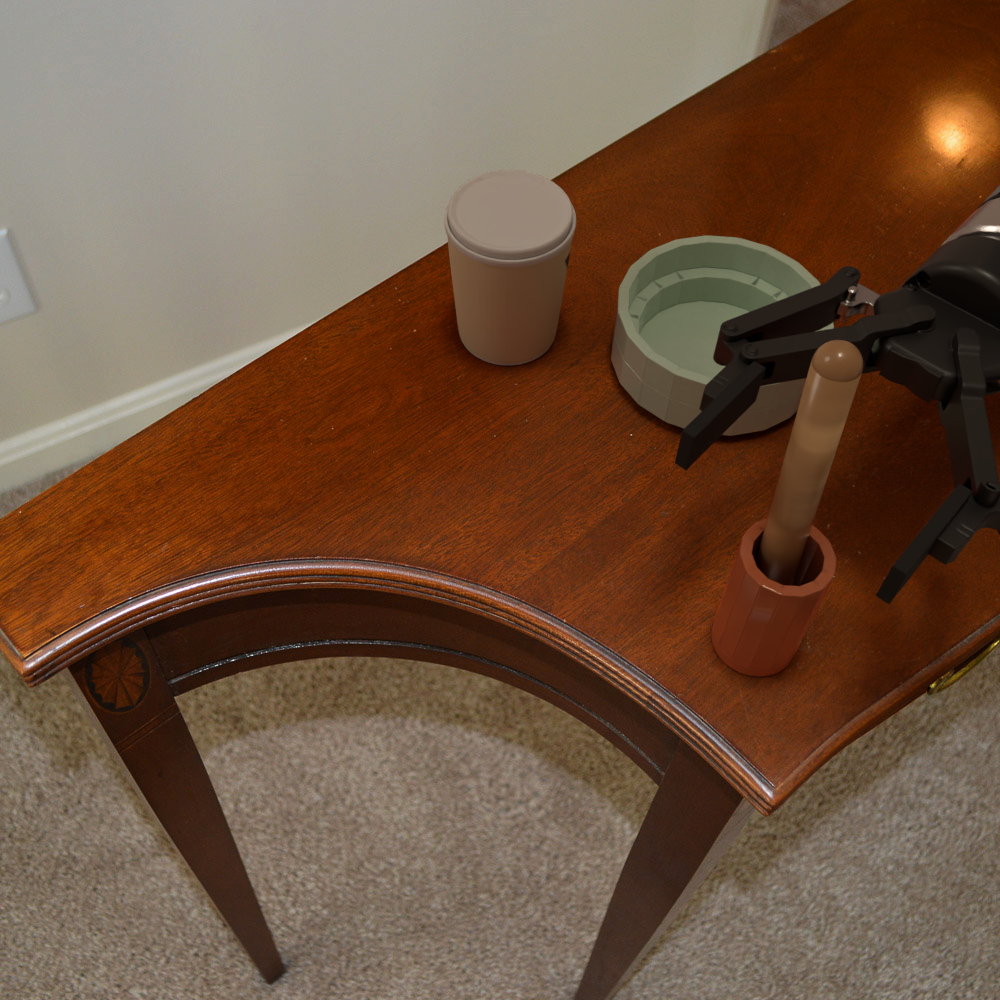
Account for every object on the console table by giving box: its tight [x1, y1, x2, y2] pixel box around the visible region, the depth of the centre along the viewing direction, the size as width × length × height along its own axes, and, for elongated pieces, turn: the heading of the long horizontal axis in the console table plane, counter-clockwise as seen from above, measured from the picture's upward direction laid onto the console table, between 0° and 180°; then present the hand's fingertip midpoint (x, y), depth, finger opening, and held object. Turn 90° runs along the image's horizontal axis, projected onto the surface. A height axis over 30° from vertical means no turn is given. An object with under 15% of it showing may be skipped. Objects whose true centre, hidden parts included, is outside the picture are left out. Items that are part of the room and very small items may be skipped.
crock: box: [710, 517, 837, 678], centre depth 66 cm, size 5×6×10 cm
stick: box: [755, 340, 863, 586], centre depth 60 cm, size 2×2×24 cm
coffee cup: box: [443, 169, 577, 367], centre depth 81 cm, size 9×9×12 cm
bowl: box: [610, 234, 835, 437], centre depth 82 cm, size 16×16×6 cm
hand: (782, 515), depth 54 cm, fingers open, 11 cm apart
